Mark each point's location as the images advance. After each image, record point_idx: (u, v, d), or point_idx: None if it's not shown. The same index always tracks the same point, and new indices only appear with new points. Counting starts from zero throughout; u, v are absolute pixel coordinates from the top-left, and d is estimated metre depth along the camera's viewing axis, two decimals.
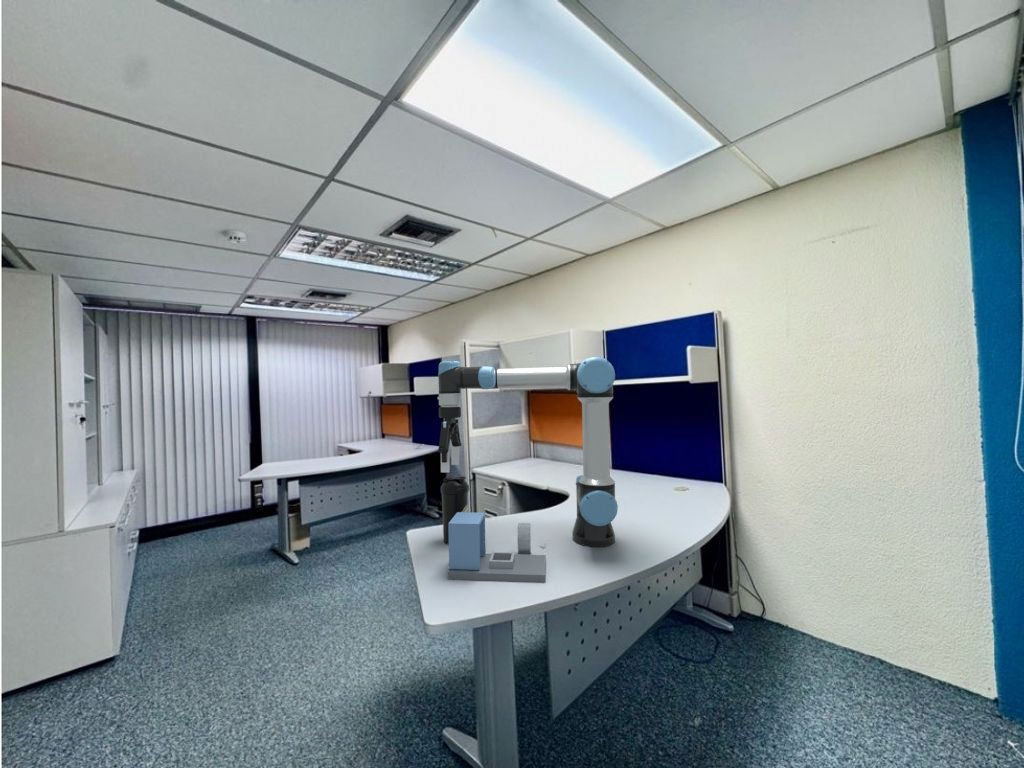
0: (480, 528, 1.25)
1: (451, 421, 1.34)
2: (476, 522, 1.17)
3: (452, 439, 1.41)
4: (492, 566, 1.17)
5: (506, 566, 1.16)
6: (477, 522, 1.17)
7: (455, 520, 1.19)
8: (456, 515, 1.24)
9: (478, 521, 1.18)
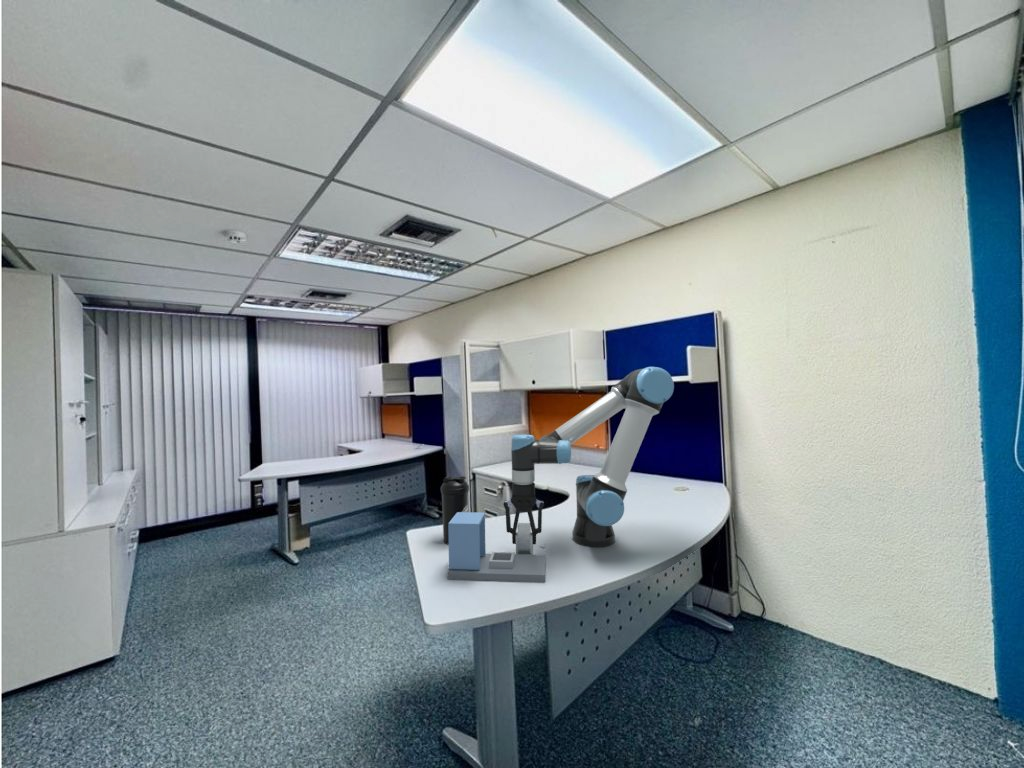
0: (480, 528, 1.25)
1: (515, 497, 1.30)
2: (476, 522, 1.17)
3: None
4: (492, 566, 1.17)
5: (506, 566, 1.16)
6: (477, 522, 1.17)
7: (455, 520, 1.19)
8: (456, 515, 1.24)
9: (478, 521, 1.18)
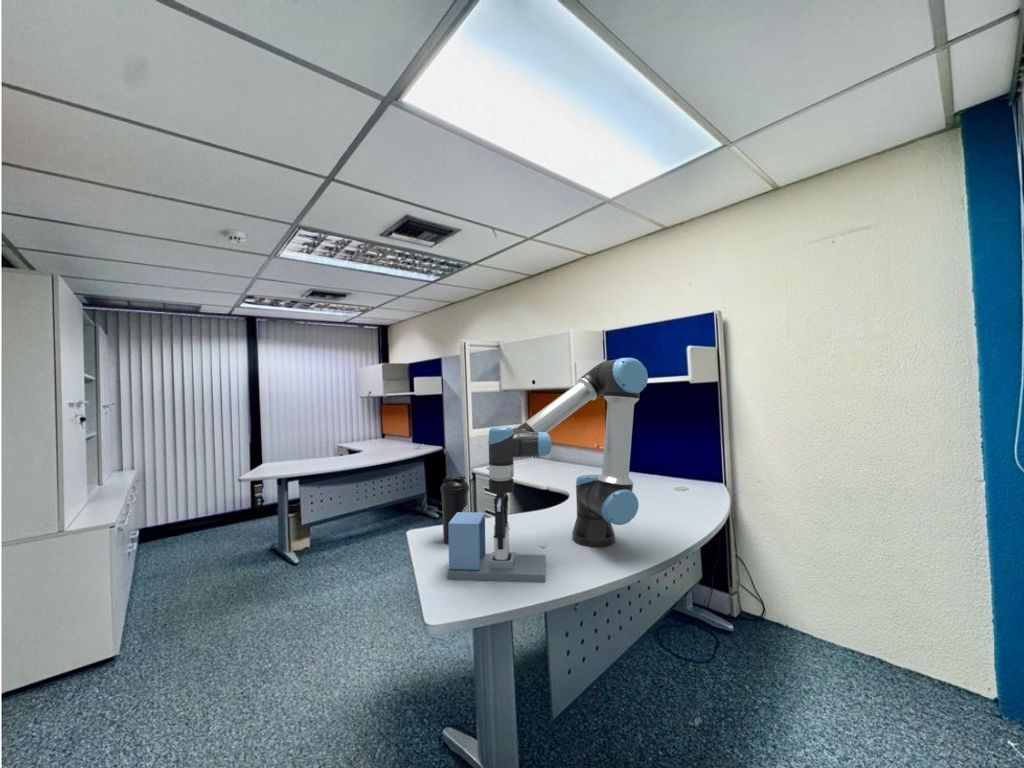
0: (480, 528, 1.25)
1: (503, 496, 1.18)
2: (476, 522, 1.17)
3: None
4: (492, 566, 1.17)
5: (506, 566, 1.16)
6: (477, 522, 1.17)
7: (455, 520, 1.19)
8: (456, 515, 1.24)
9: (478, 521, 1.18)
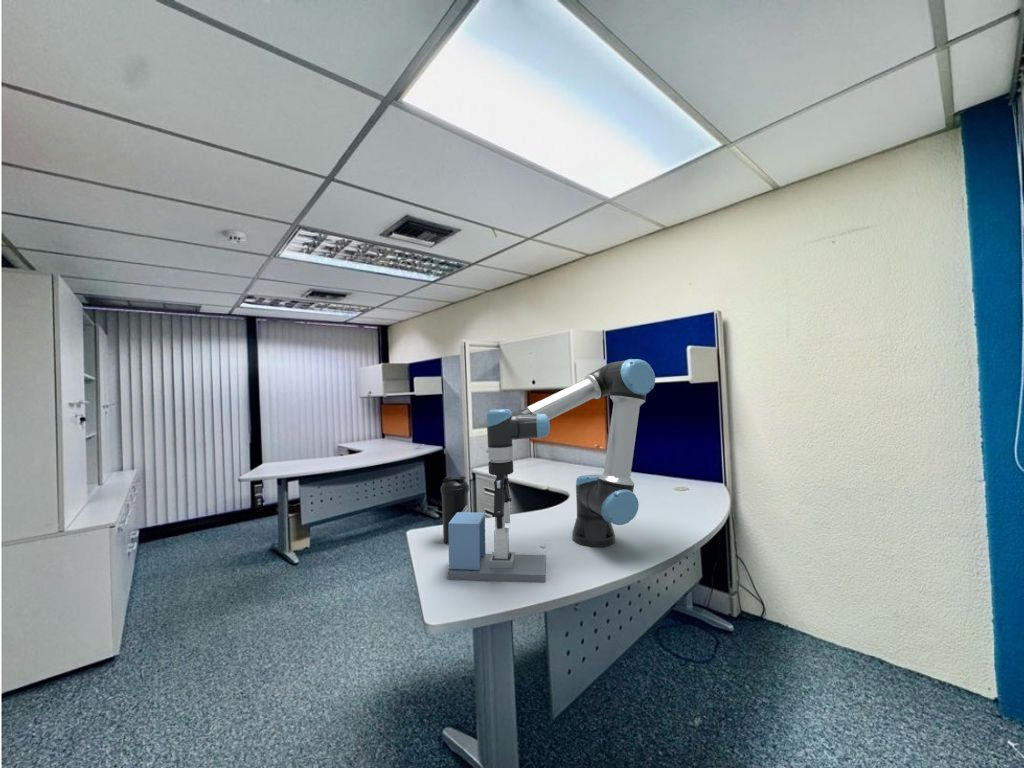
0: (480, 528, 1.25)
1: (504, 478, 1.18)
2: (476, 522, 1.17)
3: None
4: (492, 566, 1.17)
5: (506, 566, 1.16)
6: (477, 522, 1.17)
7: (455, 520, 1.19)
8: (456, 515, 1.24)
9: (478, 521, 1.18)
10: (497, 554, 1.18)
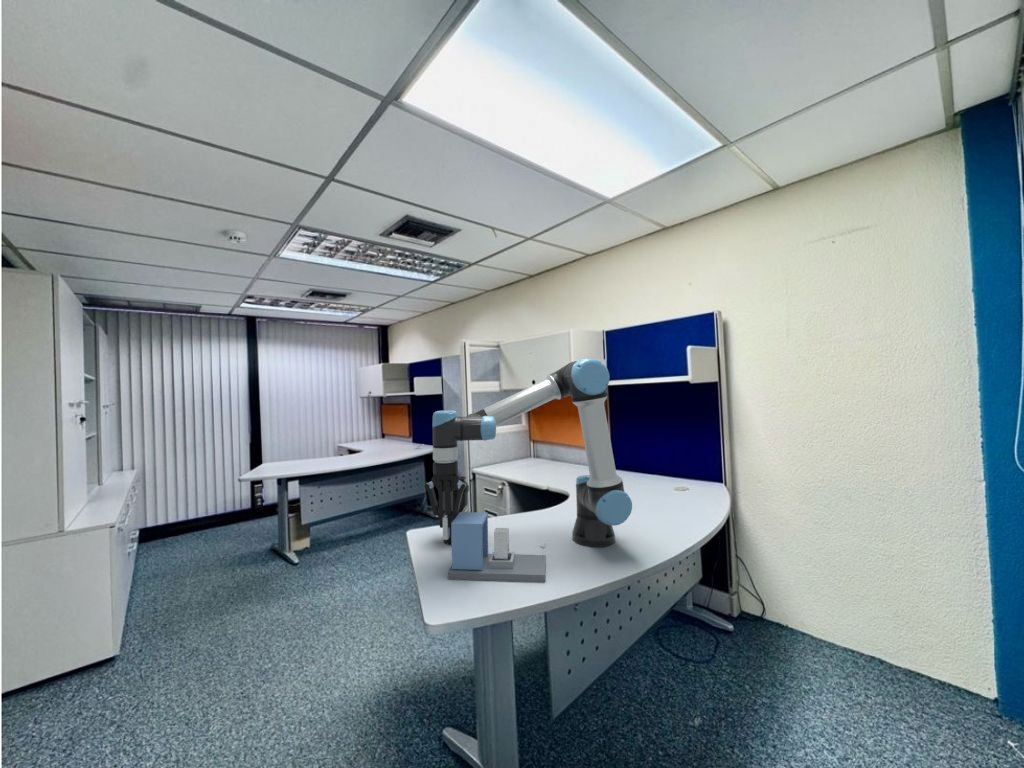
0: (483, 528, 1.25)
1: (435, 476, 1.21)
2: (479, 522, 1.17)
3: None
4: (492, 566, 1.17)
5: (506, 566, 1.16)
6: (480, 522, 1.17)
7: (458, 520, 1.19)
8: (459, 515, 1.24)
9: (481, 521, 1.17)
10: (497, 554, 1.18)
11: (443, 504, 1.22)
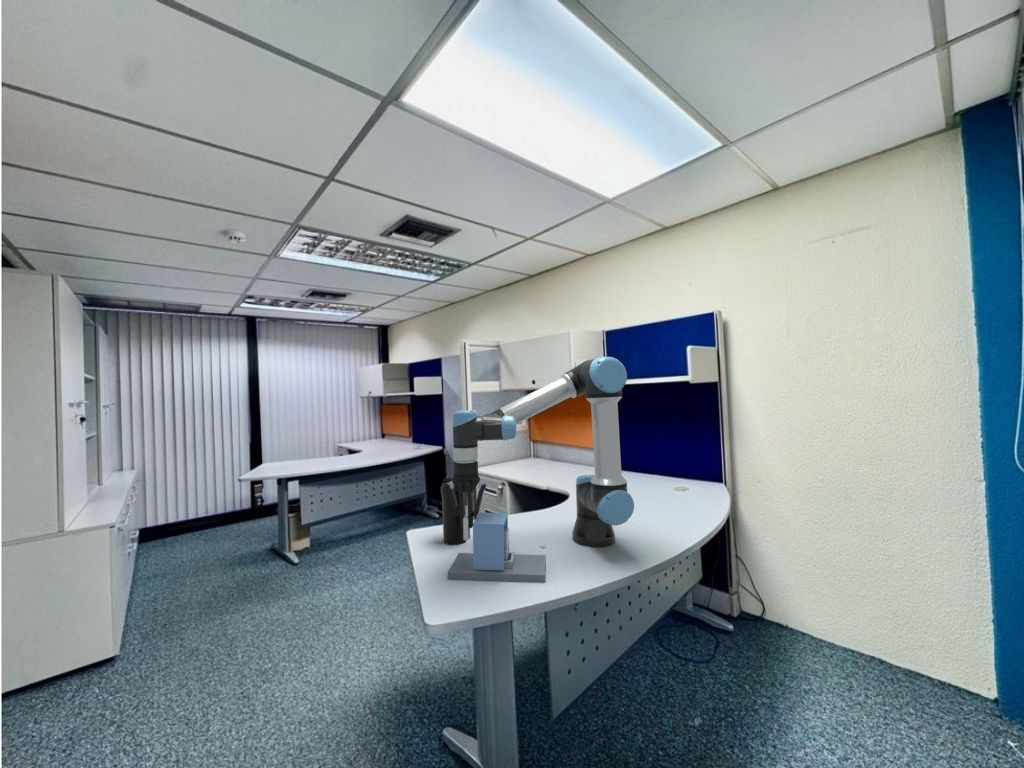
0: None
1: (455, 477, 1.21)
2: (500, 522, 1.16)
3: None
4: None
5: (506, 566, 1.16)
6: (501, 522, 1.16)
7: (479, 520, 1.19)
8: (479, 515, 1.23)
9: (502, 521, 1.17)
10: None
11: (463, 504, 1.21)
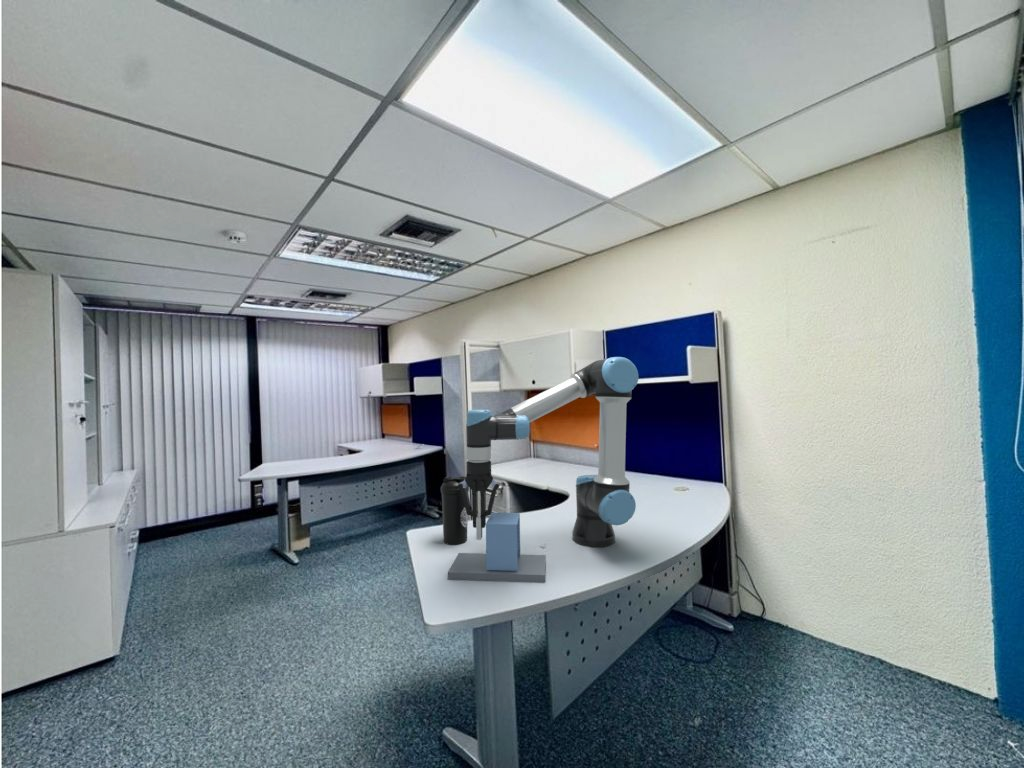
0: None
1: (468, 476, 1.20)
2: (513, 523, 1.16)
3: None
4: None
5: None
6: (515, 523, 1.16)
7: (492, 520, 1.18)
8: (491, 515, 1.23)
9: (515, 522, 1.16)
10: None
11: (476, 504, 1.21)
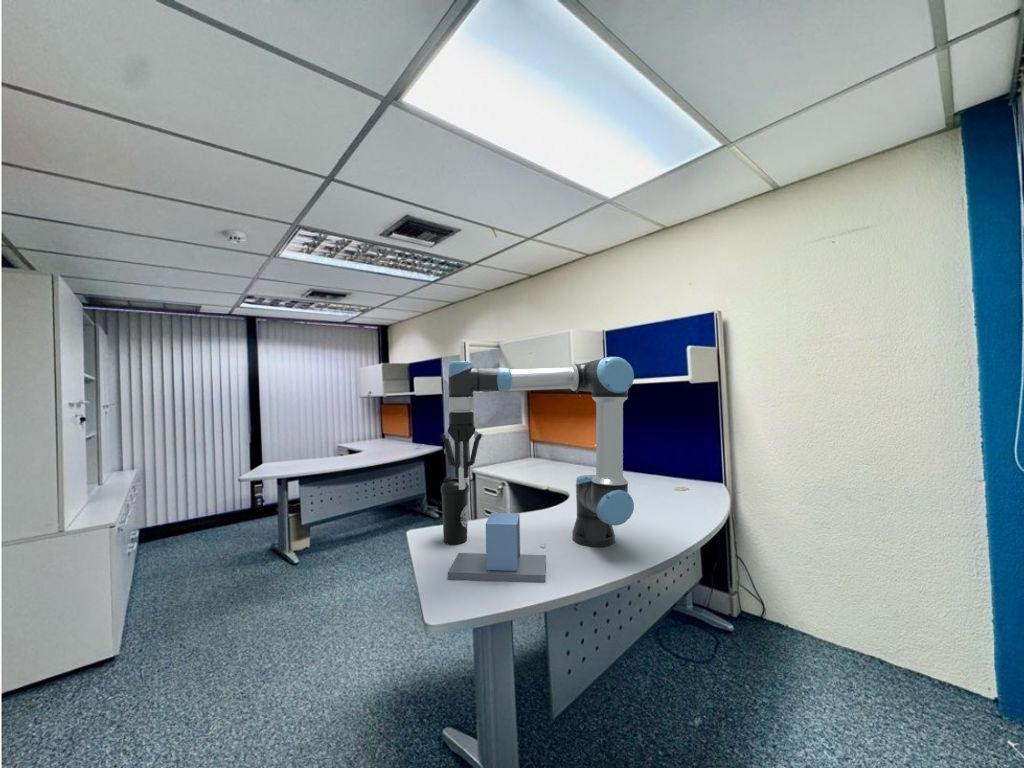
0: None
1: (451, 427, 1.21)
2: (513, 523, 1.16)
3: None
4: None
5: None
6: (514, 523, 1.16)
7: (492, 520, 1.18)
8: (491, 515, 1.23)
9: (515, 522, 1.16)
10: None
11: (459, 454, 1.22)
